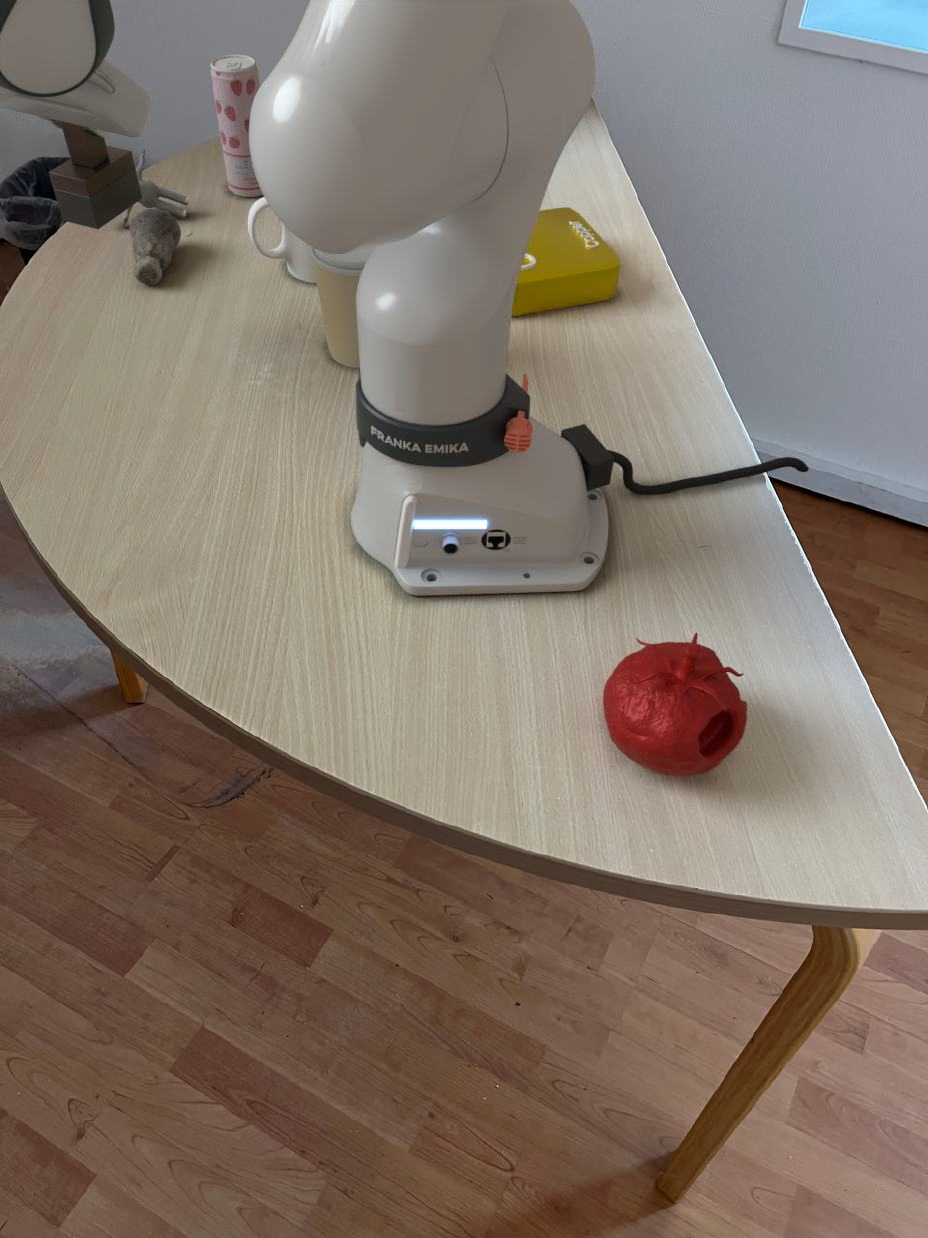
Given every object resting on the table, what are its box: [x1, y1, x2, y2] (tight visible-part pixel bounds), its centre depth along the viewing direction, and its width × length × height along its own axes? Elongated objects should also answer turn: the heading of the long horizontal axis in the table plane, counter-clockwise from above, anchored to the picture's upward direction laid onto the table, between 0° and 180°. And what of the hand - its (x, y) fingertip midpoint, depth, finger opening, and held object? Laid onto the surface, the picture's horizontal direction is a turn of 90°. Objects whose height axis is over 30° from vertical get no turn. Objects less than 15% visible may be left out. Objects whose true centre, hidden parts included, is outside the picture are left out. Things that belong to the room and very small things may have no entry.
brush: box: [48, 121, 142, 230], centre depth 83 cm, size 7×4×14 cm, turn 158°
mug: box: [247, 196, 317, 284], centre depth 105 cm, size 12×8×10 cm
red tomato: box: [602, 632, 748, 777], centre depth 64 cm, size 10×10×9 cm
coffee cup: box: [311, 246, 375, 370], centre depth 94 cm, size 9×9×12 cm
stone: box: [128, 208, 182, 286], centre depth 107 cm, size 10×5×8 cm
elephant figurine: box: [121, 148, 190, 228], centre depth 114 cm, size 10×6×9 cm
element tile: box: [511, 206, 622, 317], centre depth 107 cm, size 15×15×5 cm
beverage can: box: [210, 54, 264, 198], centre depth 116 cm, size 6×6×15 cm
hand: (86, 125), depth 83 cm, fingers closed on brush, 2 cm apart
